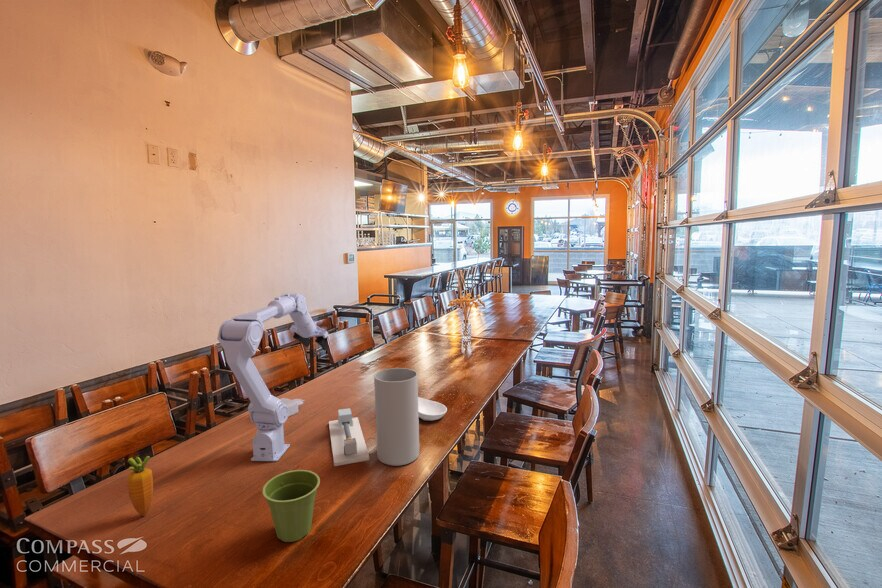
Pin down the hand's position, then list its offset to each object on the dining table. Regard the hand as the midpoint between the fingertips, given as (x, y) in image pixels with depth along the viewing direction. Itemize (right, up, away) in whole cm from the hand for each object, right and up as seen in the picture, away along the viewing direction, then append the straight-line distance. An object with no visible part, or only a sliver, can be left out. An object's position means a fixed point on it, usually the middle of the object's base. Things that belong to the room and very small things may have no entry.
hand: (317, 346), depth 152 cm
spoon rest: (+36, -26, +1) cm, 44 cm away
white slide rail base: (+15, -28, -18) cm, 36 cm away
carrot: (-25, -34, -53) cm, 68 cm away
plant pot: (+13, -34, -59) cm, 69 cm away
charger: (-13, -26, +5) cm, 29 cm away
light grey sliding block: (+13, -24, -14) cm, 31 cm away
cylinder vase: (+32, -29, -28) cm, 52 cm away
